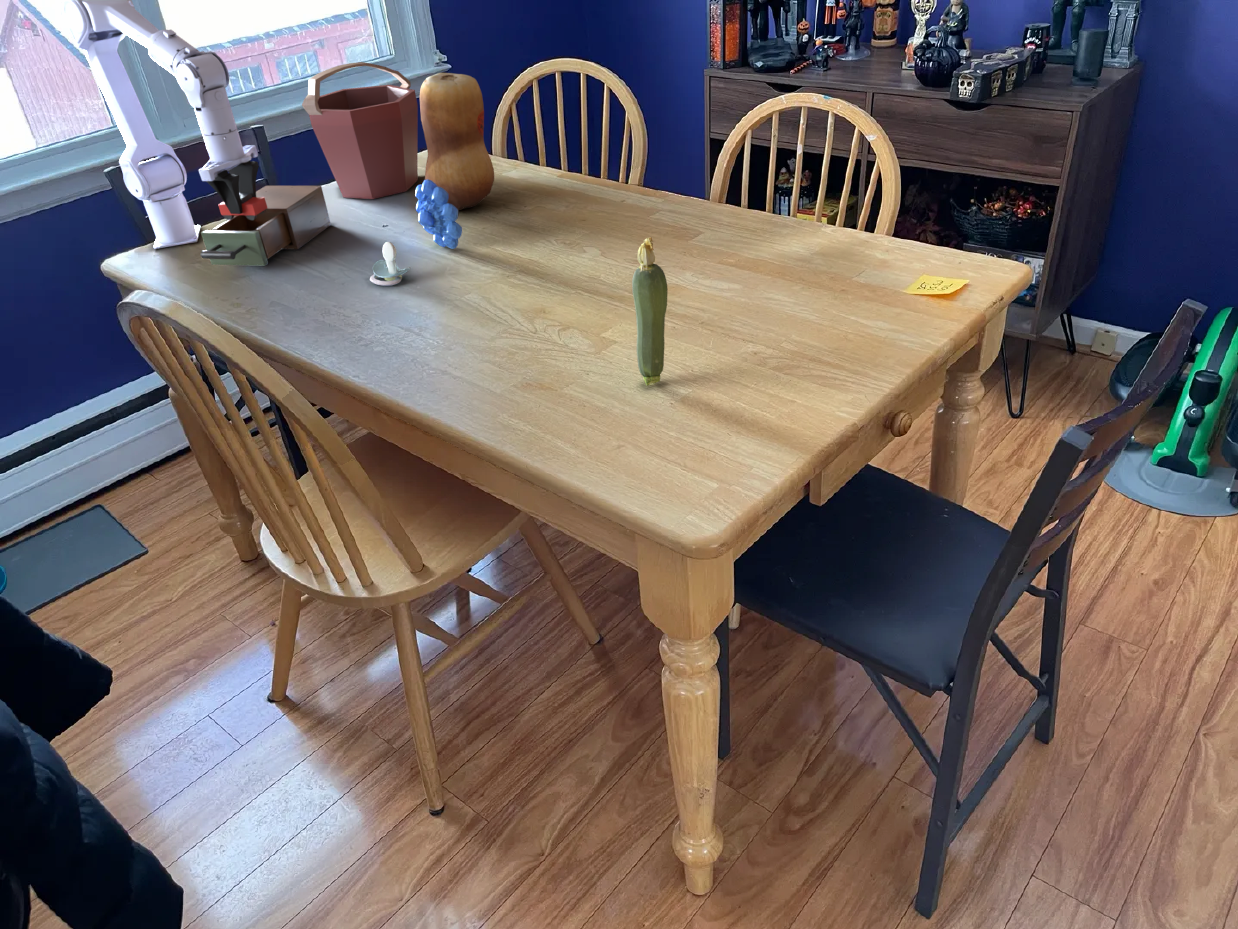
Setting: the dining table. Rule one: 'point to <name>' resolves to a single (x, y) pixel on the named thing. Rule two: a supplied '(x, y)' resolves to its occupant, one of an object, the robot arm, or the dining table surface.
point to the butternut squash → (456, 138)
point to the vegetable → (649, 313)
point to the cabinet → (298, 210)
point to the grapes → (437, 214)
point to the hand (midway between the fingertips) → (243, 208)
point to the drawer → (246, 240)
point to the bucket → (367, 134)
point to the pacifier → (390, 273)
